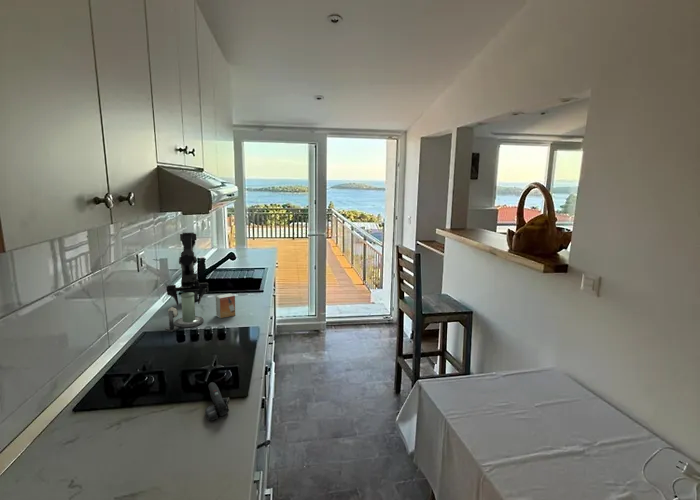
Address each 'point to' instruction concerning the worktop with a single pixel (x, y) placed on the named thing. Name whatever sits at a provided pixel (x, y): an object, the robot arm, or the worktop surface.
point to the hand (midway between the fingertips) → (188, 304)
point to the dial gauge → (172, 314)
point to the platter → (195, 323)
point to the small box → (225, 305)
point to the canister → (188, 307)
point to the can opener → (216, 403)
